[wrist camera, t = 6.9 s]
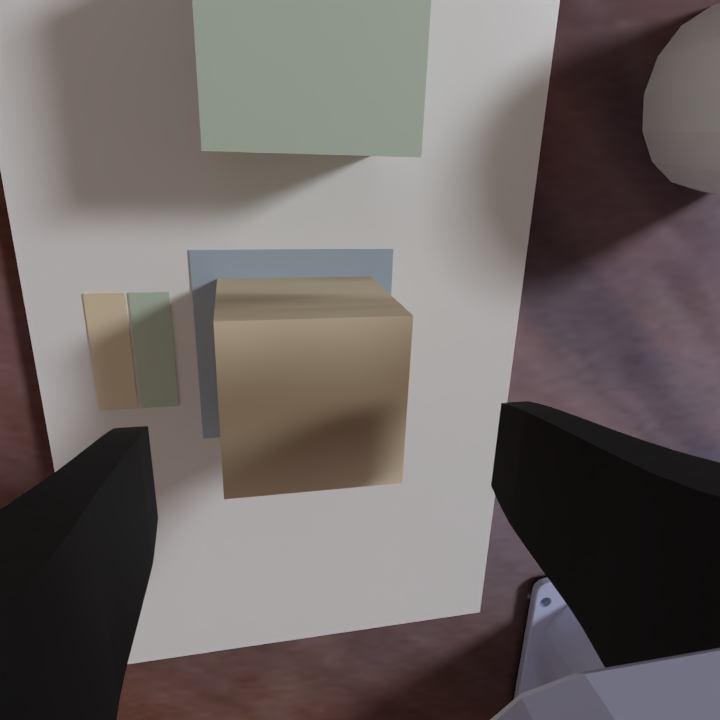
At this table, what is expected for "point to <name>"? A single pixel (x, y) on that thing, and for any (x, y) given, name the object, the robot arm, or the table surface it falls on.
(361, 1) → the sage block
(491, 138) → the blueprint baseplate
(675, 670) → the robot arm
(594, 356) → the table surface
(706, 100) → the white tumbler
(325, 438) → the maple block
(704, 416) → the table surface
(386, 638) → the table surface
